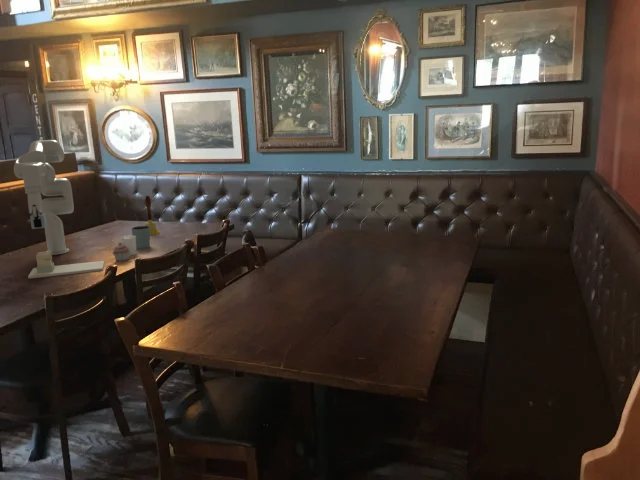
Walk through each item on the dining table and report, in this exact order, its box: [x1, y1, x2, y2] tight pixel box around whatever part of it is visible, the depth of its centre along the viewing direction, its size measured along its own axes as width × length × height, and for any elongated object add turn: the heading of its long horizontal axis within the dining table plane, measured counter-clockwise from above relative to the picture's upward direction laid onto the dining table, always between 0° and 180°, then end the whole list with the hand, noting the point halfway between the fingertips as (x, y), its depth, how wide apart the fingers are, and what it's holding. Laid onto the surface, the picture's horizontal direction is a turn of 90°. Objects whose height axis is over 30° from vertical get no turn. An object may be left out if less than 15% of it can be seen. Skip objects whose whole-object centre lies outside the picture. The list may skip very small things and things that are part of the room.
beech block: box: [35, 251, 53, 267], centre depth 269 cm, size 6×6×6 cm
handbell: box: [144, 195, 162, 237], centre depth 350 cm, size 12×12×25 cm
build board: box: [27, 260, 105, 279], centre depth 273 cm, size 15×34×4 cm, turn 109°
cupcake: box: [111, 242, 130, 263], centre depth 289 cm, size 9×9×10 cm
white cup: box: [120, 234, 137, 257], centre depth 301 cm, size 8×8×10 cm
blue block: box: [29, 214, 47, 230], centre depth 264 cm, size 6×6×6 cm
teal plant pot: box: [131, 225, 151, 250], centre depth 316 cm, size 10×10×12 cm
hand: (39, 225), depth 265 cm, fingers closed on blue block, 6 cm apart
